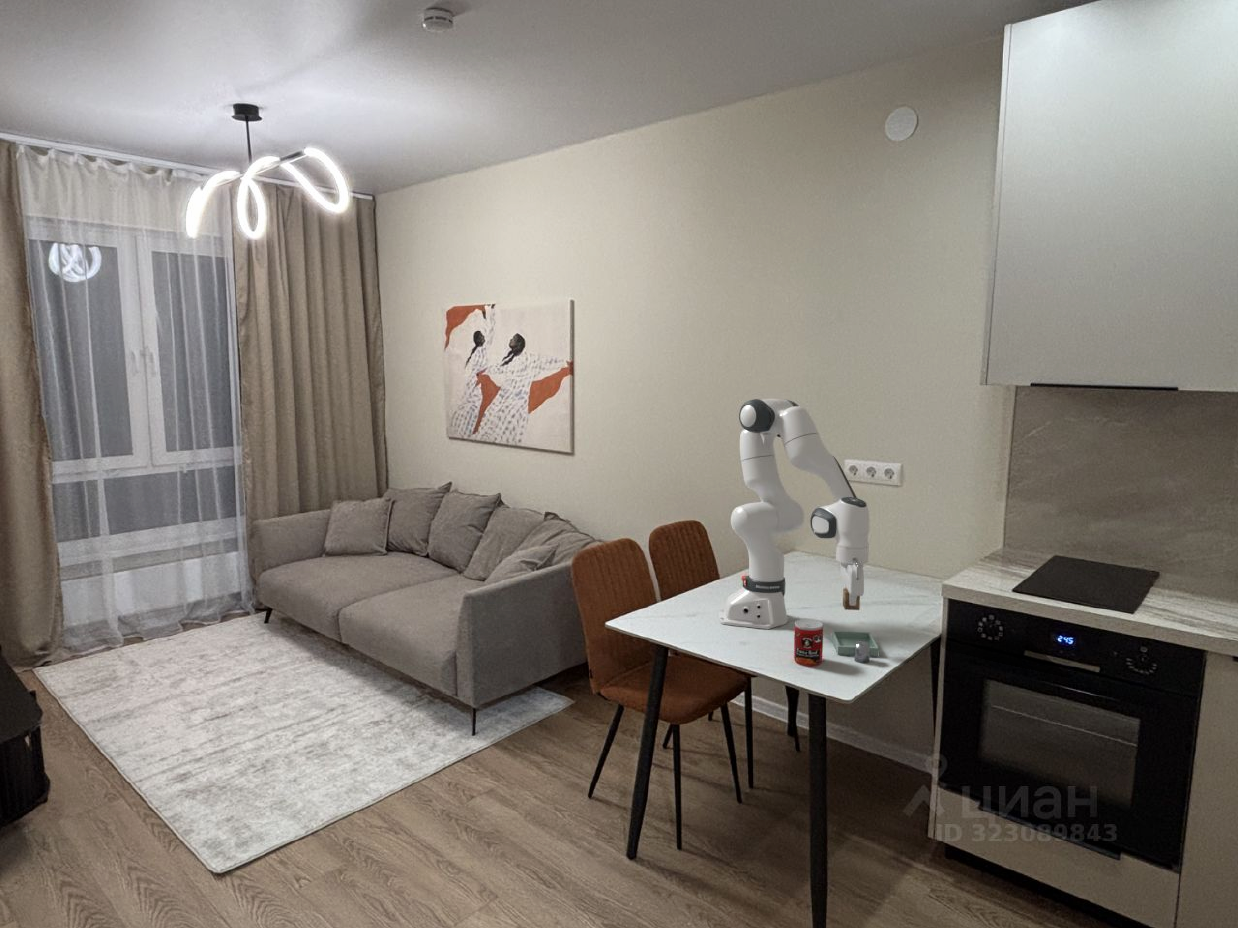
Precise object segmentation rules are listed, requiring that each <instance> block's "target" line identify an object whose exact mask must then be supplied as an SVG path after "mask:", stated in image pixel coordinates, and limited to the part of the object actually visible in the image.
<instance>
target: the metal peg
mask: <svg viewBox="0 0 1238 928" xmlns="http://www.w3.org/2000/svg"><path fill="white" fill-rule="evenodd" d="M853 658H854V659H853V660H854V662H855V663H857V664H862V665H863V664H869V663H870V658H871V657H870V643H868V642H865V641H857V642H855V656H854V657H853Z"/></svg>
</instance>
